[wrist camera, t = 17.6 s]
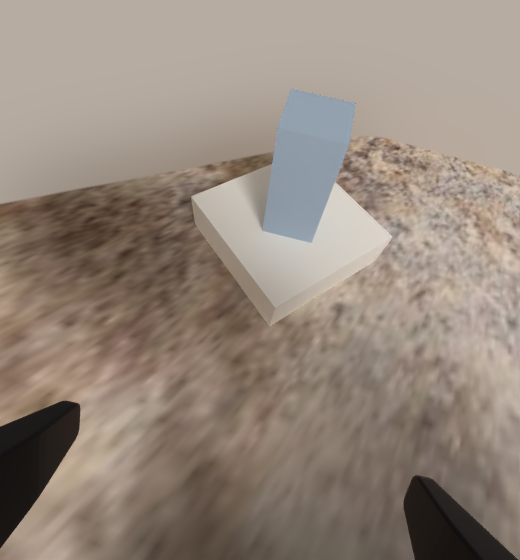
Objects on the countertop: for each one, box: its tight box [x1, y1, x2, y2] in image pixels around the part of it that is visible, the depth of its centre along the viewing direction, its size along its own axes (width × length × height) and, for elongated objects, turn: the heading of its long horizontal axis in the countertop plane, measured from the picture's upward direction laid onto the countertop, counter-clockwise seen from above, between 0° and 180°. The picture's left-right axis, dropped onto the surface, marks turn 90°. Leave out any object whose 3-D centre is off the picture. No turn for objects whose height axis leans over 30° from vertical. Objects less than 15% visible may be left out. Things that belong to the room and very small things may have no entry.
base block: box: [191, 164, 392, 326], centre depth 28 cm, size 12×12×4 cm
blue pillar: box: [262, 89, 355, 243], centre depth 22 cm, size 4×4×9 cm
